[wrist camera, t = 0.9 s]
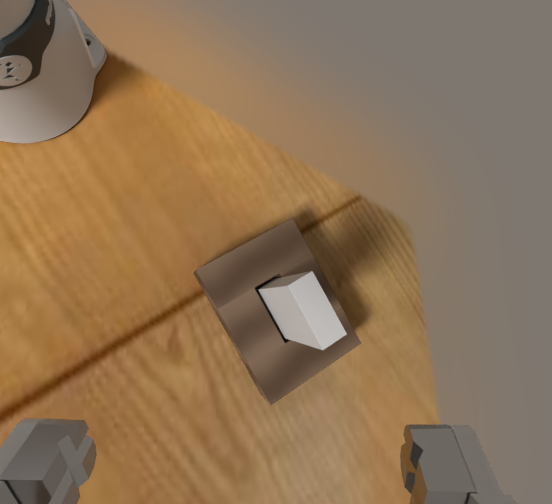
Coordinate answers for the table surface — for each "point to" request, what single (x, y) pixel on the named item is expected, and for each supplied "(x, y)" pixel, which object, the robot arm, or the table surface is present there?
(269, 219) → the table surface
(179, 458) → the table surface
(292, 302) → the tall white pillar
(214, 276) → the slotted box
